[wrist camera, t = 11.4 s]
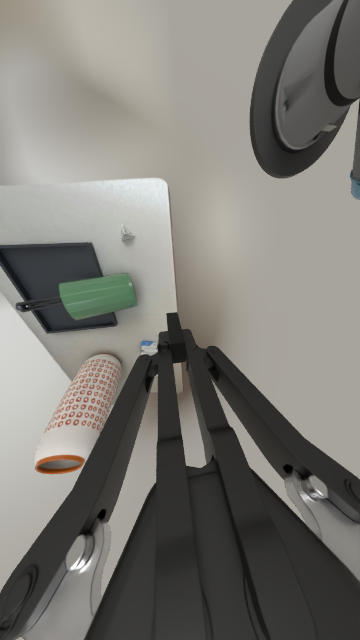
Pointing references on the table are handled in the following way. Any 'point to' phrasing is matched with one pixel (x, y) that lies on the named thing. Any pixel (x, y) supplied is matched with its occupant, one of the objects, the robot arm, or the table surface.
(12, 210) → the table surface
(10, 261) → the tray
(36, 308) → the tongs
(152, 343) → the ink box
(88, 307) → the cup
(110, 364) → the vase
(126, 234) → the tetrahedral die
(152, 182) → the table surface
